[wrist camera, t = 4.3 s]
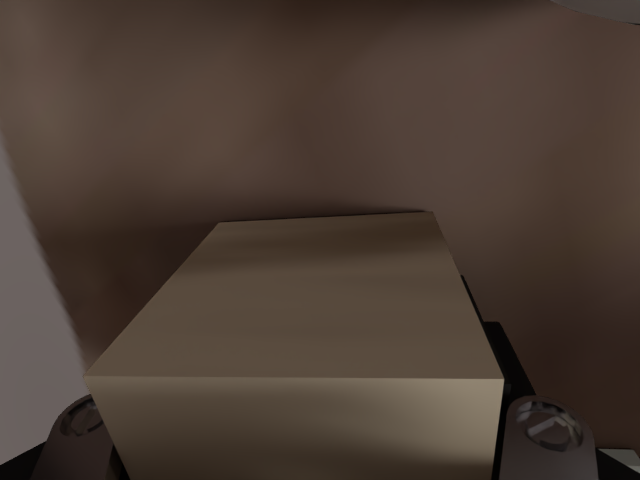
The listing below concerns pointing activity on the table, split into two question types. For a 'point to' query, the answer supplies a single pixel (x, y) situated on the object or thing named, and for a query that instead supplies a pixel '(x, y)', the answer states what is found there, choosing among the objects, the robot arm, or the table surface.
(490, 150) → the table surface
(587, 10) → the mug
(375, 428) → the maple cube
